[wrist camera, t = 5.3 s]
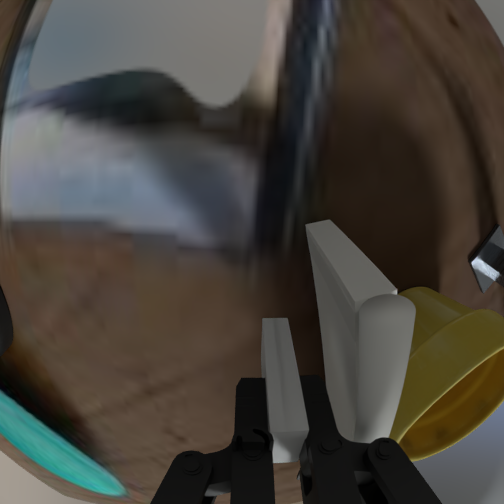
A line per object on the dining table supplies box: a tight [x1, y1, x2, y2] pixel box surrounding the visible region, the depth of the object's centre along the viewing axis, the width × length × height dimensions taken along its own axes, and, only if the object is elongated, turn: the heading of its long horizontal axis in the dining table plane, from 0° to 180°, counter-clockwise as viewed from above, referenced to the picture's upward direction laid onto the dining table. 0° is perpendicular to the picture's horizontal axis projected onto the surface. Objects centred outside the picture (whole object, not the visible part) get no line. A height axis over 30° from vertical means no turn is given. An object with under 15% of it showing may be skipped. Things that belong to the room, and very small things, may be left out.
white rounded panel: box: [305, 219, 416, 443], centre depth 13 cm, size 18×3×10 cm, turn 13°
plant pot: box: [389, 287, 504, 462], centre depth 14 cm, size 10×10×10 cm
